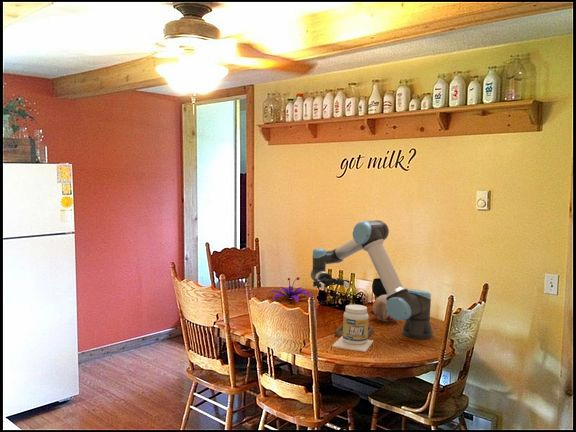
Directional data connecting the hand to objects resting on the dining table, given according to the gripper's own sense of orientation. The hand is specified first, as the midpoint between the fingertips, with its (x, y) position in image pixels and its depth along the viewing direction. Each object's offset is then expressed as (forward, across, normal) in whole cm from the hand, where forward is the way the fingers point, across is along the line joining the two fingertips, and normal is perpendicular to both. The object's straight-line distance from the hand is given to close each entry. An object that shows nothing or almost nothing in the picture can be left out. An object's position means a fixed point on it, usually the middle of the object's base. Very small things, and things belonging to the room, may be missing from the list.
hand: (336, 286), depth 269 cm
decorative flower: (-71, +7, -23) cm, 75 cm away
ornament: (-14, -34, -24) cm, 44 cm away
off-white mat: (+22, -2, -24) cm, 32 cm away
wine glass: (-31, -38, -24) cm, 55 cm away
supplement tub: (+20, -3, -23) cm, 31 cm away
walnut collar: (+6, -8, -24) cm, 26 cm away
